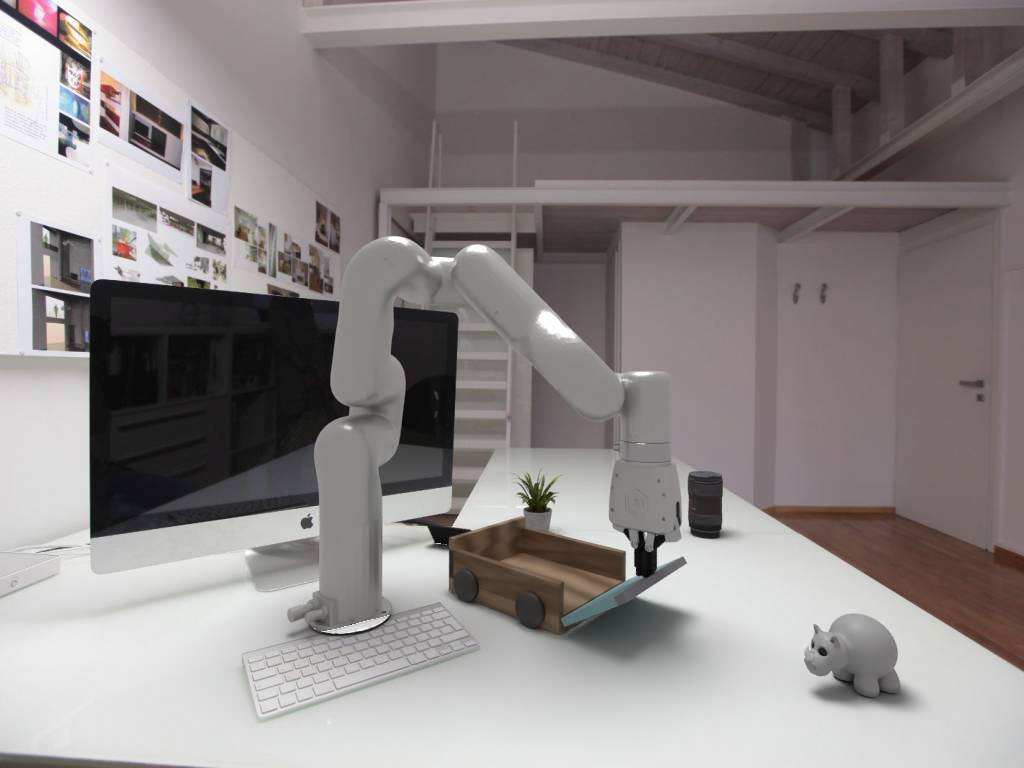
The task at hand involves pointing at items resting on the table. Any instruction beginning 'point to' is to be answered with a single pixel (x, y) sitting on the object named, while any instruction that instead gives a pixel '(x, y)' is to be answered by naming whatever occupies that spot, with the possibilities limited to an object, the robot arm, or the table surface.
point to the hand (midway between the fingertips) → (645, 574)
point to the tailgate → (622, 592)
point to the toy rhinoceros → (856, 654)
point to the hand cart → (531, 572)
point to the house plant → (537, 503)
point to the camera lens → (705, 503)
